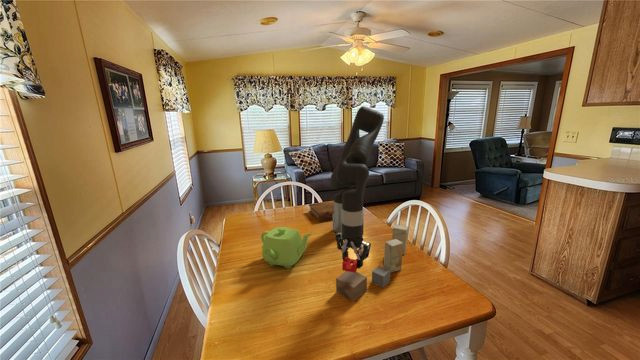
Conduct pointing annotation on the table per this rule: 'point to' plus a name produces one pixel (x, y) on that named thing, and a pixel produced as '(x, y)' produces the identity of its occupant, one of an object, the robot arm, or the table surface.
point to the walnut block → (351, 285)
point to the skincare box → (393, 255)
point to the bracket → (349, 265)
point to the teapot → (283, 246)
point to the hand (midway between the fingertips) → (352, 264)
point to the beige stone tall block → (400, 235)
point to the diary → (322, 210)
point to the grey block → (381, 276)
